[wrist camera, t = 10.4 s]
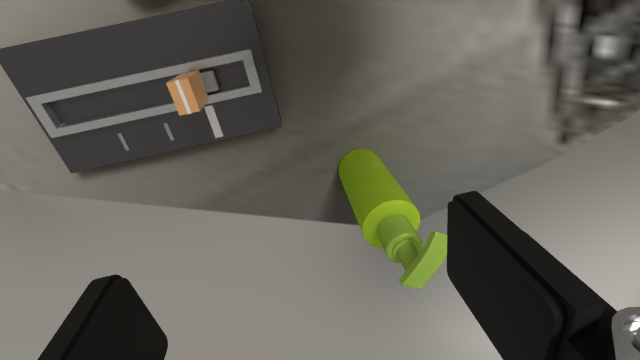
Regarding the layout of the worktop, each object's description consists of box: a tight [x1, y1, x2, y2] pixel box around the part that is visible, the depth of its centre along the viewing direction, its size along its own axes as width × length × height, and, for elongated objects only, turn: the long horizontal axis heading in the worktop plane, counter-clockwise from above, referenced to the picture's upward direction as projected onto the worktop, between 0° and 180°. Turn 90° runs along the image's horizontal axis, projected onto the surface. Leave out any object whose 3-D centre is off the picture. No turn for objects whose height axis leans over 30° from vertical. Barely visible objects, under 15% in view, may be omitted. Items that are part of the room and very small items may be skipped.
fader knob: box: [166, 70, 220, 116], centre depth 29 cm, size 3×4×6 cm
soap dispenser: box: [338, 149, 447, 289], centre depth 33 cm, size 6×7×20 cm
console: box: [0, 0, 281, 173], centre depth 33 cm, size 13×24×4 cm, turn 101°
